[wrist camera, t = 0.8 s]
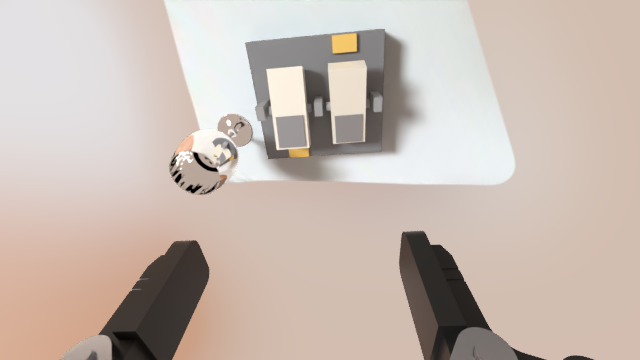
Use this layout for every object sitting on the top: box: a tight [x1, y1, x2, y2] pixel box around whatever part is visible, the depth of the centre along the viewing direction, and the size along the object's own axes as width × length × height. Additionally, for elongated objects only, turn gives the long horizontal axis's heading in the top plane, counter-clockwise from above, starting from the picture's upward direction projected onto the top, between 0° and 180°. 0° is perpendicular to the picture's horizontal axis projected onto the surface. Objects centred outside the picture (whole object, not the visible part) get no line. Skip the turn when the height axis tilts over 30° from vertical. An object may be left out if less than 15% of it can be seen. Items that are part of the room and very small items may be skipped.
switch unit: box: [245, 29, 385, 159], centre depth 30 cm, size 13×14×6 cm
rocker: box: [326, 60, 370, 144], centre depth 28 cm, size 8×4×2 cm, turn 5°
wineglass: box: [169, 114, 252, 195], centre depth 30 cm, size 6×6×12 cm
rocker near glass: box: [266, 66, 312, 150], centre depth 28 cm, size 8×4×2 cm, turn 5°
